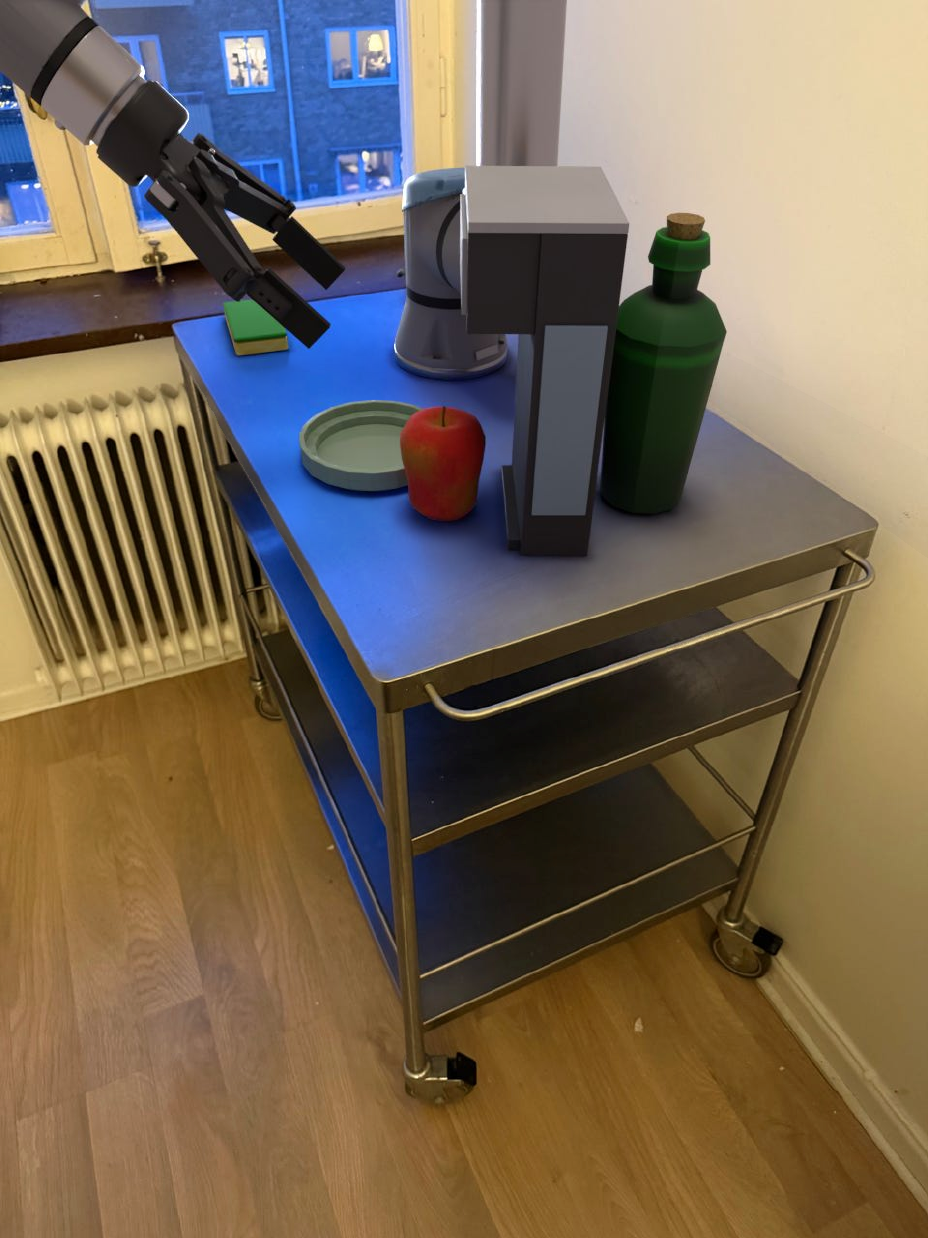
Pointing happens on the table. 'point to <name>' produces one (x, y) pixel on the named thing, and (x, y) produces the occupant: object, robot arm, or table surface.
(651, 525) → the table surface
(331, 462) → the dish
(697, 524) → the table surface
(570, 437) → the coffee maker
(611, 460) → the bottle
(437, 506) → the apple
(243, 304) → the dish sponge
